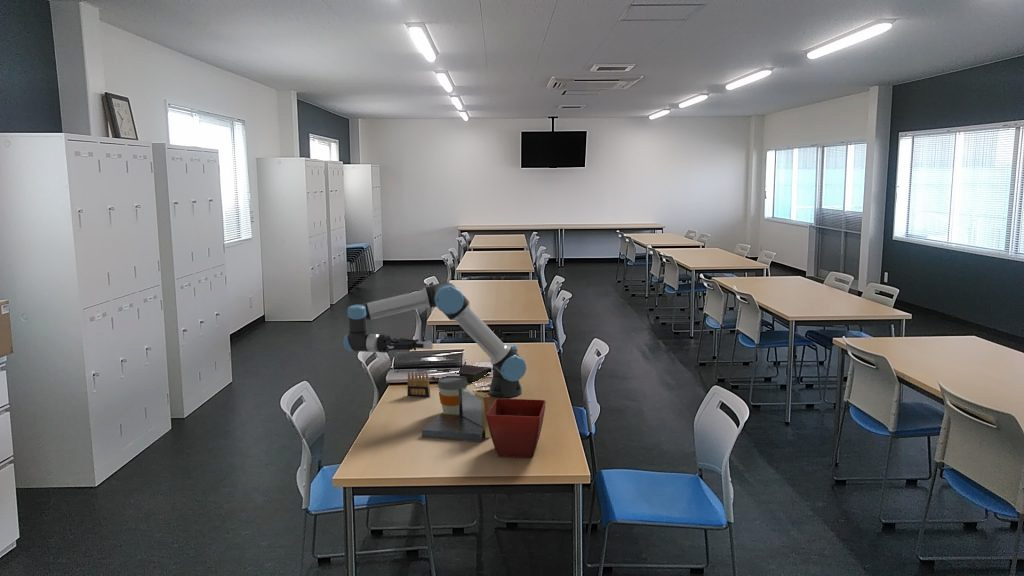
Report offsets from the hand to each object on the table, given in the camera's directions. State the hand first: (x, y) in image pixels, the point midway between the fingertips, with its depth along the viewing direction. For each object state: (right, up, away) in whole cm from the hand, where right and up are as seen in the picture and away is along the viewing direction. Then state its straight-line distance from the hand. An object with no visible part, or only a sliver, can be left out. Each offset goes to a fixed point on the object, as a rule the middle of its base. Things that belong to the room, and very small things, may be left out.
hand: (431, 345), depth 285 cm
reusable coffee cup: (+8, -30, +13) cm, 34 cm away
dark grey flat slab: (+12, -33, -8) cm, 36 cm away
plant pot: (+35, -36, -31) cm, 59 cm away
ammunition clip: (-10, -27, +38) cm, 48 cm away
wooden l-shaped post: (+22, -34, -14) cm, 43 cm away
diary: (+7, -23, +71) cm, 75 cm away
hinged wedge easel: (+17, -29, -6) cm, 35 cm away
